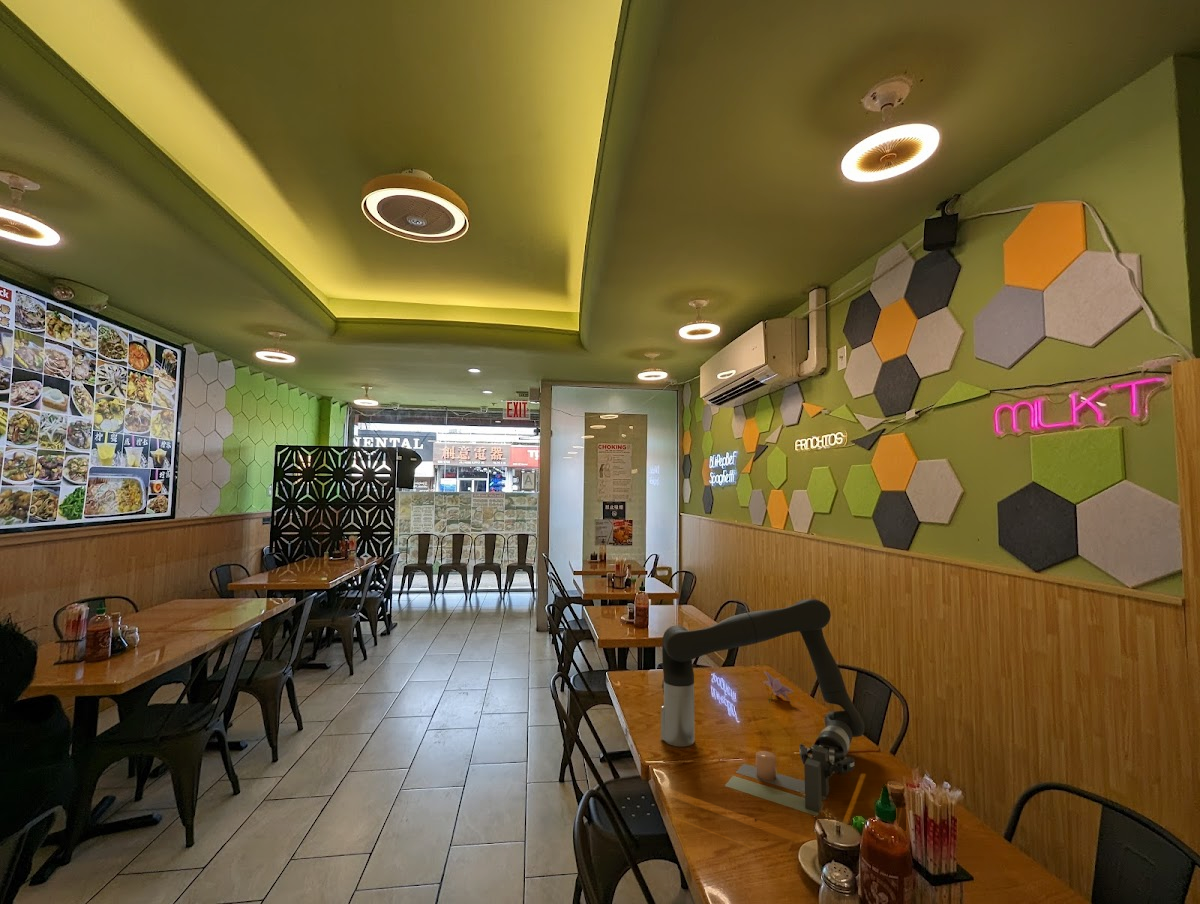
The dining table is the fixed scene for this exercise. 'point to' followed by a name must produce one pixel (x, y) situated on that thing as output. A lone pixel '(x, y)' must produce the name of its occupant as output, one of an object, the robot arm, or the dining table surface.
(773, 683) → the lily
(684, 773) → the dining table surface
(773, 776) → the tan round cylinder
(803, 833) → the dining table surface
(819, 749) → the grey l-shaped bracket
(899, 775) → the dining table surface
